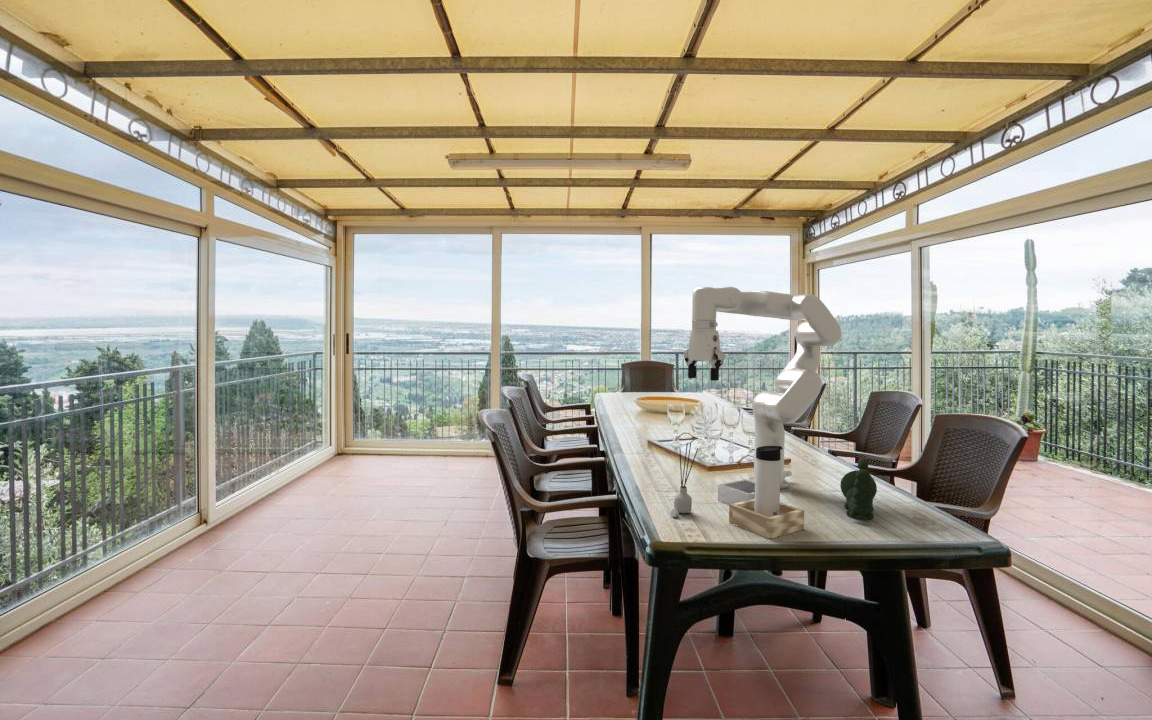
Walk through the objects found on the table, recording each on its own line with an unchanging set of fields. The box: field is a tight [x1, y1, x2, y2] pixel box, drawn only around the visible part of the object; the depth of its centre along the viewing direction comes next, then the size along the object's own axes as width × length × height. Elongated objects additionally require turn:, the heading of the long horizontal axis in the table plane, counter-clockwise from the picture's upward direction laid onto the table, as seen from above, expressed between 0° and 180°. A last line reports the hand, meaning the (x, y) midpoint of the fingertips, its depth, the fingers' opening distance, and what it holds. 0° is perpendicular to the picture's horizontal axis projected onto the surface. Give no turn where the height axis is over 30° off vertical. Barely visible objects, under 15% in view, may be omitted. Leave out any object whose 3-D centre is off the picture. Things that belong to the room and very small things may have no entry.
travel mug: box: [754, 446, 783, 517], centre depth 145 cm, size 6×7×20 cm
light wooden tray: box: [728, 499, 805, 540], centre depth 145 cm, size 13×13×5 cm
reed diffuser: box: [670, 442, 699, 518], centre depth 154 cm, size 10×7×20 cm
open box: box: [717, 478, 755, 505], centre depth 164 cm, size 12×12×5 cm
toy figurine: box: [840, 457, 878, 521], centre depth 155 cm, size 9×19×25 cm
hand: (703, 379), depth 176 cm, fingers open, 9 cm apart
